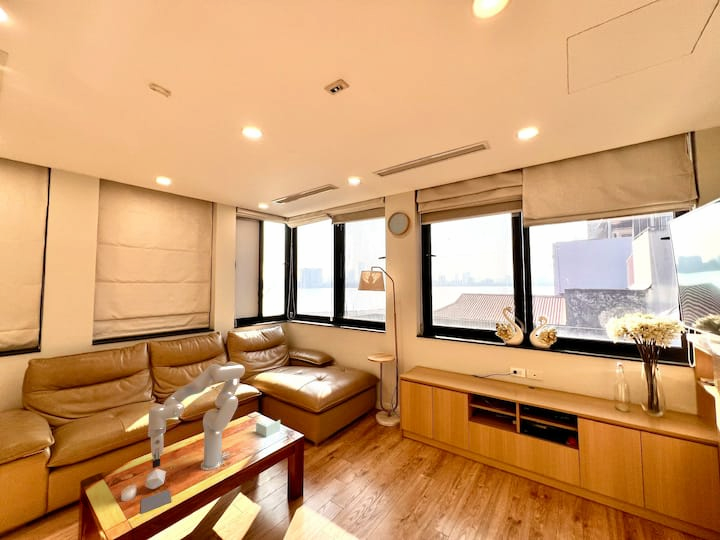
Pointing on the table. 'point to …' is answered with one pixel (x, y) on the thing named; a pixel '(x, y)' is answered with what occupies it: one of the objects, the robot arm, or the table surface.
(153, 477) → the die
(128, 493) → the white rounded lump
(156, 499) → the mat
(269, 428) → the pale green block
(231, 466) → the table surface
